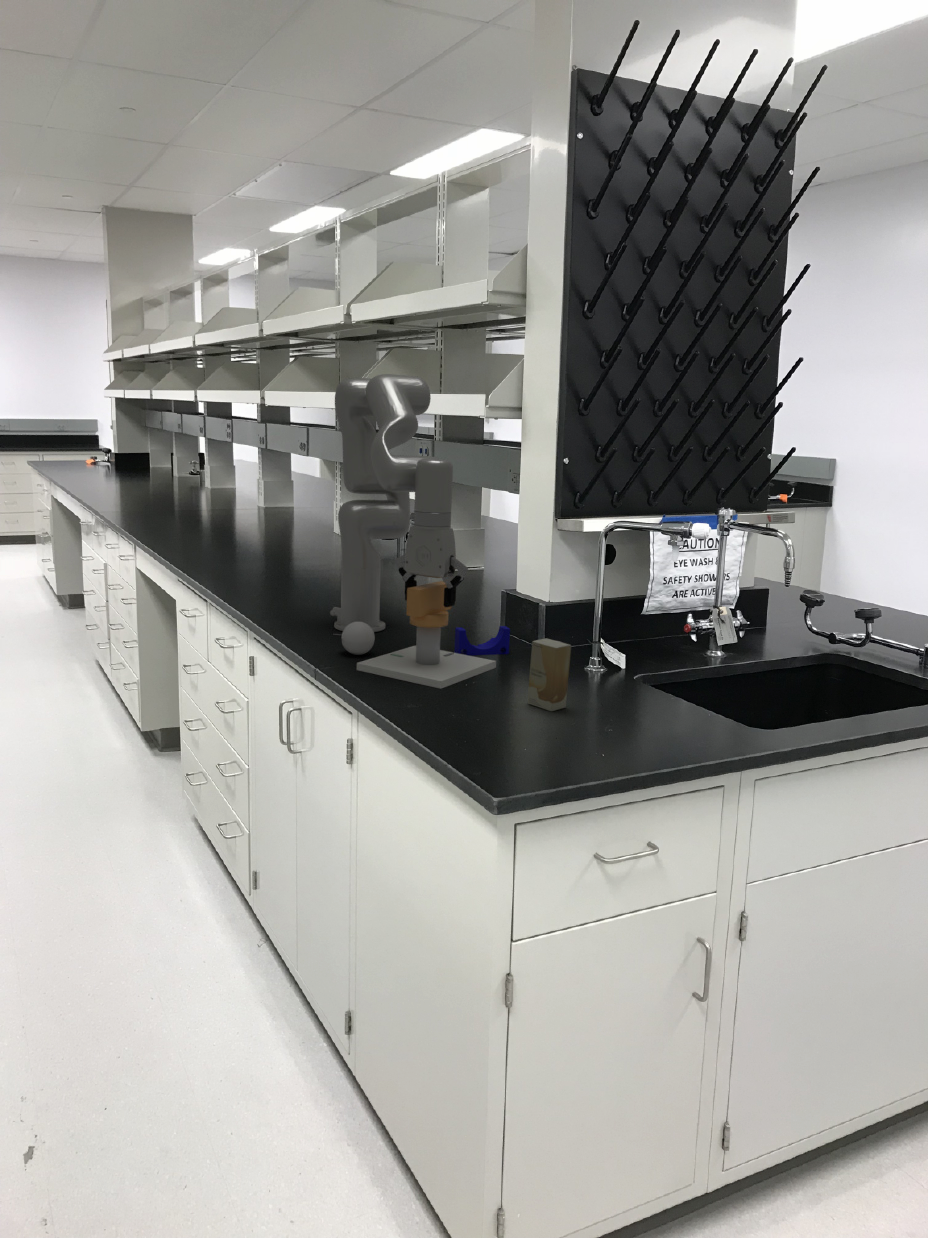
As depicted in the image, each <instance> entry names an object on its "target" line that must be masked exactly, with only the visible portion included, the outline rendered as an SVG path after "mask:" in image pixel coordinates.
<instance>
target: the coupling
mask: <svg viewBox="0 0 928 1238" xmlns="http://www.w3.org/2000/svg"><path fill="white" fill-rule="evenodd" d="M446 587H447V586H446V584H445V582H444V581H443V580H442V581H441V580H438V581H436V582H435V581H434V582H431V583H425V584H420V585H417V586H415V587H410V588H407V601H406V612H405V613H406V616H409V624H410V625H412V626H415V627H417V626H419V627H429V628H434V627H441V628H443V627H447V626H448V625H449V613H450V612H449V610H451V609H452V606H450V607H444V589H445V588H446Z"/></svg>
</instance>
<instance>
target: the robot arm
mask: <svg viewBox="0 0 928 1238" xmlns="http://www.w3.org/2000/svg"><path fill="white" fill-rule="evenodd" d="M334 394H335V395H334V410H335V414H336V415H335V416H336V419H337V423H338V425H339V429H340V433H341V439H342V469H343V470H342V473H343V474H342V475H343V483H344V487H345V489H346V490H347V491H348V492H349V493H353V494H358V495H385V496H386V499H354V500H349V501H346V502H345V503H343V504H342V505H341V506H340V508H339V510H338V512H337V520H338V528H339V535H340V546H341V547H340V548H341V574H340V575H341V576H340V577H341V578H340V579H341V582H340V607H338V606H333V608H332V609H331V610H330V611H329V614H330V616H333V617H336V618H337V620H335V621H334V625H333V626H334V628H335V630H338V631H342V632H343V631H344V629H345V627H346V626H348V625H349V624H351V623H353V622H364V623H366V624H368V625H369V626H370V627H371V628H372V630H373V632H374V633H376V632H381V631H383V630H385V629H386V622H384V621H382V620H381V619H380V611H381V610H380V605H381V604H380V601H381V600H380V599H381V563H382V562H381V557H380V553H379V551H378V550H377V548H376V546H374V544H373V542H372V540H393V539H394V540H396V539H401V538H404V537H405V536H406V535H407V539H406V545H405V553H404V554H403V555H400V556H398V557H397V558H395V560H394V561H395V564H396V567H397V568H398V573H399V574H400V576H401V577H402V581H403V582H404V601H406V602H407V588H410V587H415V586H418V582H417V580H416V579H415V578H416V577H417V576H418V577H419V576H420V577H426V578H427V577H428V578H434V579H442V581H443V582H445V584H446V586H447V587H446V588H445V589H444V607H450V606H451V607H453V606H455V602H456V598H457V587H459V586H460V583H462V582H463V581H464V579H465V577H466V575H467V573H468V571H469V568H468V566H466V565H465V564H464V563H462V562H461V561H460V560H458V559H457V555H456V553H457V551H456V538H455V533H454V528H452V527H451V526H452V507H453V506H452V503H453V482H454V481H453V477H454V476H453V475H454V466H453V464H452V462H451V461H450V460H449V459H443V458H441V459H440V458H438V457H437V456H436V457H435V456H430V455H427V456H425V455H404V454H403V455H402V454H400V455H399V454H398V455H397V454H396V455H395V454H392V452H390V450H392V449H393V448H396V447H399V446H401V445H403V444H406V443H407V442H409V441H410V440H411V439H412V438H414V436H415V435H417V432H418V429H419V421H418V418H417V416H420V415H423V414H424V413H426V412H427V411H428V410H429V407H430V403H431V389H430V386H429V385H428V383H427V382H426V380H424V379H423V378H422V377H420V376H416V375H408V374H407V375H405V374H389V373H388V374H387V373H386V374H385V373H383V374H379V375H375V376H373V377H372V378H370V377H369V378H367V377H365V378H364V377H353V378H347V379H344V380H342V381H340V382H339V383H338V385H337V386H336V389H335V393H334ZM366 416H370V417H373V418H374V420H375V423H376V425H377V427H378V429H379V430H378V431H376V429H375V427H374V426H373V424H372V423H371V421H370V420H369V419H368V418H367V417H366ZM410 493H414V510H413V512H411V507H410V506H411V504H410V503H411V502H410V501H411V499H410V496H411V495H410ZM410 520H413V525H410V522H411V521H410ZM456 570H457V574H456V575H455V573H456Z"/></svg>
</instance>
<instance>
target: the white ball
mask: <svg viewBox="0 0 928 1238" xmlns="http://www.w3.org/2000/svg"><path fill="white" fill-rule="evenodd" d="M334 635H337V636H341V638H340V639H341V644H342V647H343V648H344V649H345V650H346V651H347V652H348V653H350V654H352V655H355V656H361V655H364V654H366V653H368V652H369V651H370V650H372V648H373V647H374V644H375V639H376V638H375V632H373V630H372V628H371V627H370V626H369V625H368V624H366V623H364V622H353V623H351V624H349V625H348V626H346V627H345V629H344V631H342V632H341V634H340V633H339V634H338V633H334Z"/></svg>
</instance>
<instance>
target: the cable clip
mask: <svg viewBox="0 0 928 1238" xmlns="http://www.w3.org/2000/svg"><path fill="white" fill-rule="evenodd" d="M454 632H455V633H454V651H453V653H458V654H463V655H468V656H488V655H489V656H490V655H492V656H493V655H509V653H510V641H511V640H510V639H511V638H510V637H511V629H510V628H509V627H508V626H506V625H499V627H498V632H497V634H496V635H495V637H491V638H490V639H489V640H487V641H486V642H484V643H480V644H477V645H475V644H471V642H470V641H469V639H468V637H467V631H466V629H465V628H464V627H459V626H458V627H455V631H454Z"/></svg>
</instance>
